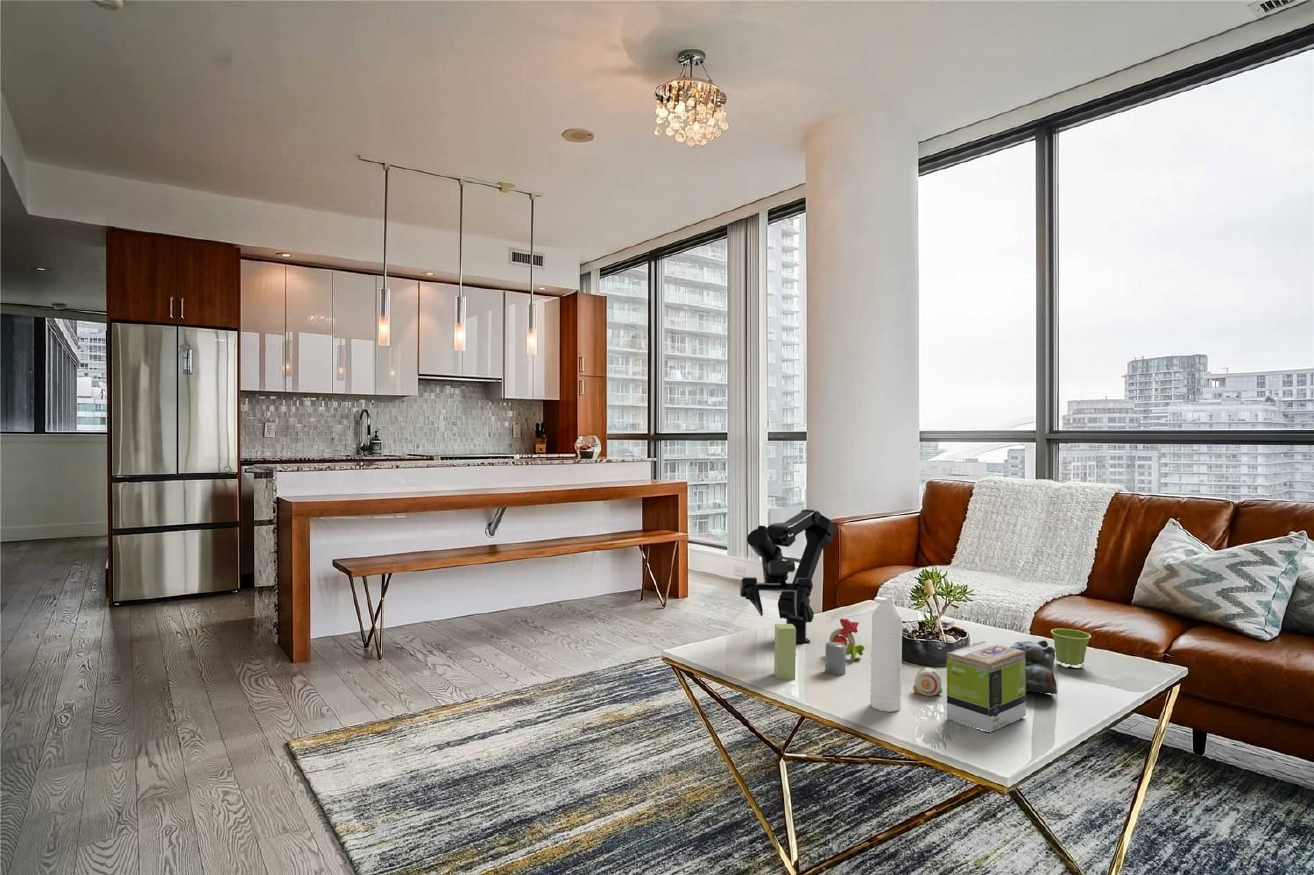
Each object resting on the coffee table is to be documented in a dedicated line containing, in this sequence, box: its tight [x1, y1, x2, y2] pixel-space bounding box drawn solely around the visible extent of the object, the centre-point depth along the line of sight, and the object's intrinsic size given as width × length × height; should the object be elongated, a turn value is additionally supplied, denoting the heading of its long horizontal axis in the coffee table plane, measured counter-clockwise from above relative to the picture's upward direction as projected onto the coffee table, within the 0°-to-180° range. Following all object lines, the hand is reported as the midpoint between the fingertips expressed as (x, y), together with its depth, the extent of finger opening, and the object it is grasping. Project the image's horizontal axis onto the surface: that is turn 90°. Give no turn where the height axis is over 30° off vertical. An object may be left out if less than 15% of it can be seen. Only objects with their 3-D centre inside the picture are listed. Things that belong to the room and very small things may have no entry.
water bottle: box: [869, 594, 904, 713], centre depth 166 cm, size 9×6×25 cm
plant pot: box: [1050, 628, 1092, 665], centre depth 199 cm, size 9×9×9 cm
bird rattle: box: [828, 618, 865, 662], centre depth 203 cm, size 6×11×9 cm
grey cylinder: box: [824, 642, 847, 677], centre depth 191 cm, size 5×5×7 cm
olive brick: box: [773, 623, 797, 680], centre depth 187 cm, size 4×4×12 cm
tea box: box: [946, 641, 1027, 733], centre depth 161 cm, size 15×10×15 cm, turn 127°
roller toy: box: [912, 667, 943, 697], centre depth 176 cm, size 4×6×6 cm
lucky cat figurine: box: [1008, 639, 1058, 695], centre depth 180 cm, size 15×12×14 cm
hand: (779, 615), depth 194 cm, fingers open, 9 cm apart
